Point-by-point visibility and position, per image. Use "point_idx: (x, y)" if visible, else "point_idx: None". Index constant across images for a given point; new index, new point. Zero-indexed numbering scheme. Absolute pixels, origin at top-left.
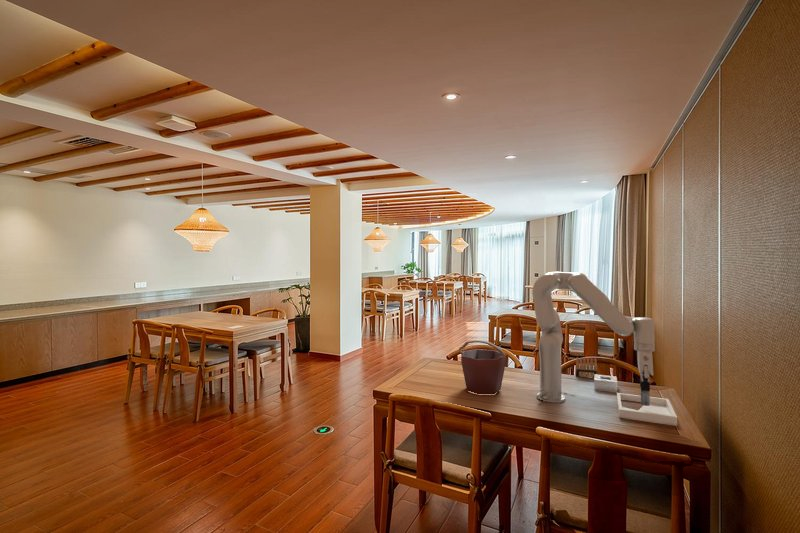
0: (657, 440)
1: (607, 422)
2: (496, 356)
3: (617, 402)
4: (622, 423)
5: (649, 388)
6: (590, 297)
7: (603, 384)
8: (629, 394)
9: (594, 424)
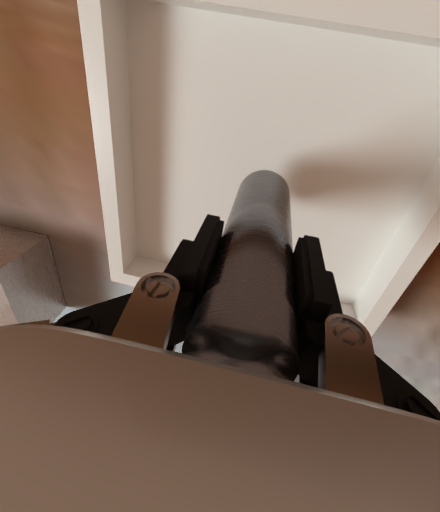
0: None
1: (411, 358)
2: None
3: None
4: (429, 318)
5: (319, 252)
6: None
7: (31, 307)
8: (109, 231)
9: (428, 393)
